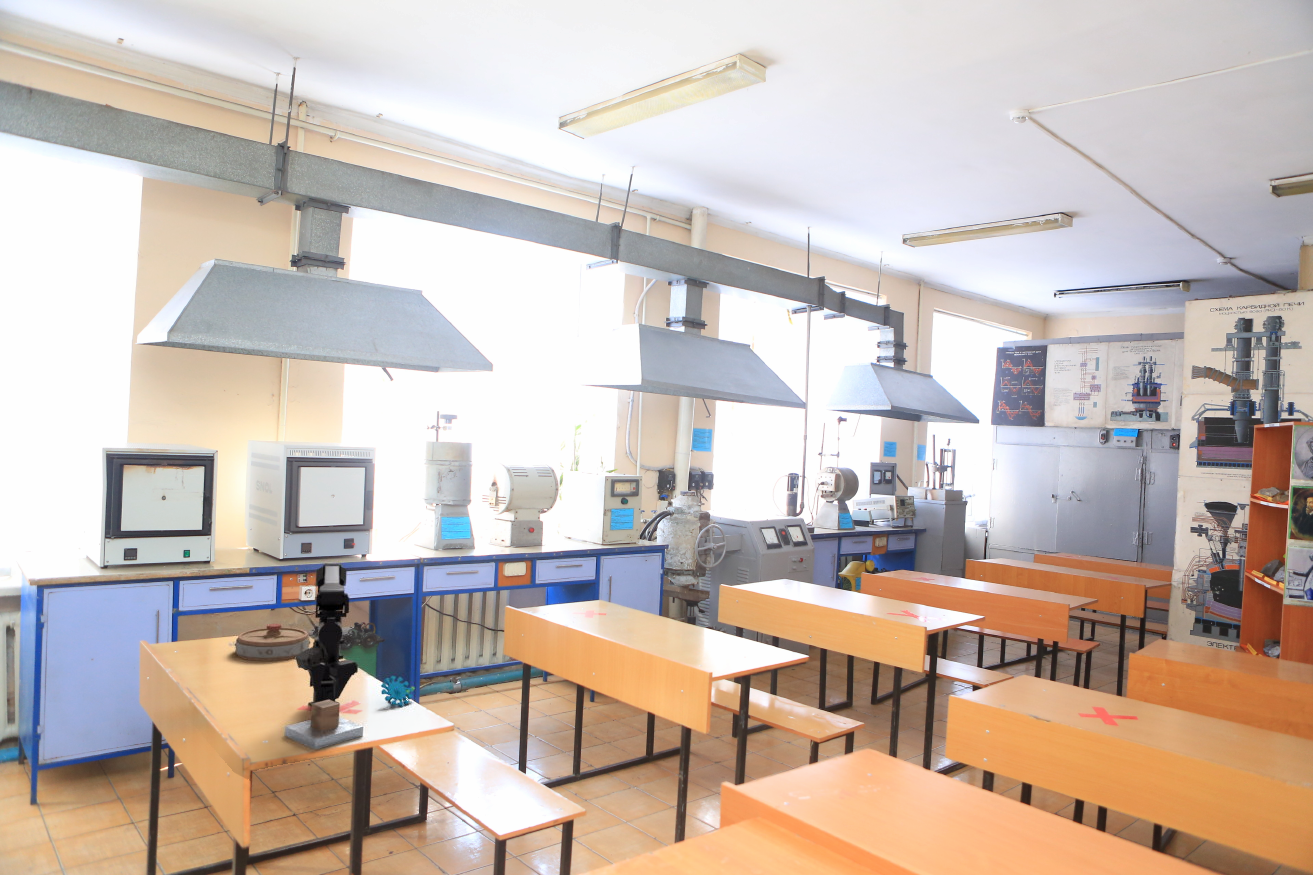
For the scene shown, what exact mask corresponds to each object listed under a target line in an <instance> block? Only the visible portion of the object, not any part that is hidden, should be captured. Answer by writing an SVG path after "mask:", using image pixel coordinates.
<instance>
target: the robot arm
mask: <svg viewBox="0 0 1313 875" xmlns="http://www.w3.org/2000/svg"><path fill="white" fill-rule="evenodd" d="M347 574H348V572H347V568H344V567H343V566H342V563H339V562H325V563H323V564H322V566H321V567H319V568H317V569H316V570H315V582H314V583H315V584H314V586H315V587H317V592H316V597H315V598H316V599H315V617H314V618H315V619H318V631H317V638H316V639H314V641H313V642H312V647H309V649H306V650H305V651H303V652H301V653H299V654H298V655H296V656H295V657H294V658H295V661H296V664H297V668H299V669H303V670H304V671H307V672H308V674H309V675H308V676H309V687H312V688H313V696H312V701H311V702H307V705H308V706H311V707H312V703H317V702H321V701H325V700H331V701H334V702H336V703H339V704H340V702H339V701H336V700H338V699H339V698H340V697H341V695H342V693H343V691H344V689H345V688H346V686H347V683H349V681H350V680H351V677H352V676H355V674H357V673H359V664H358V663H357V662H356V661H353V660H350V659H344V655H343V654H341V645H344V644H345V639H343V638H342V637H343V624H342V622H343V618H347V614H350V613H349V612H350V596H349V594H348V593H347V592H345V587H346V585H347ZM343 659H344V660H343Z"/></svg>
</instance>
